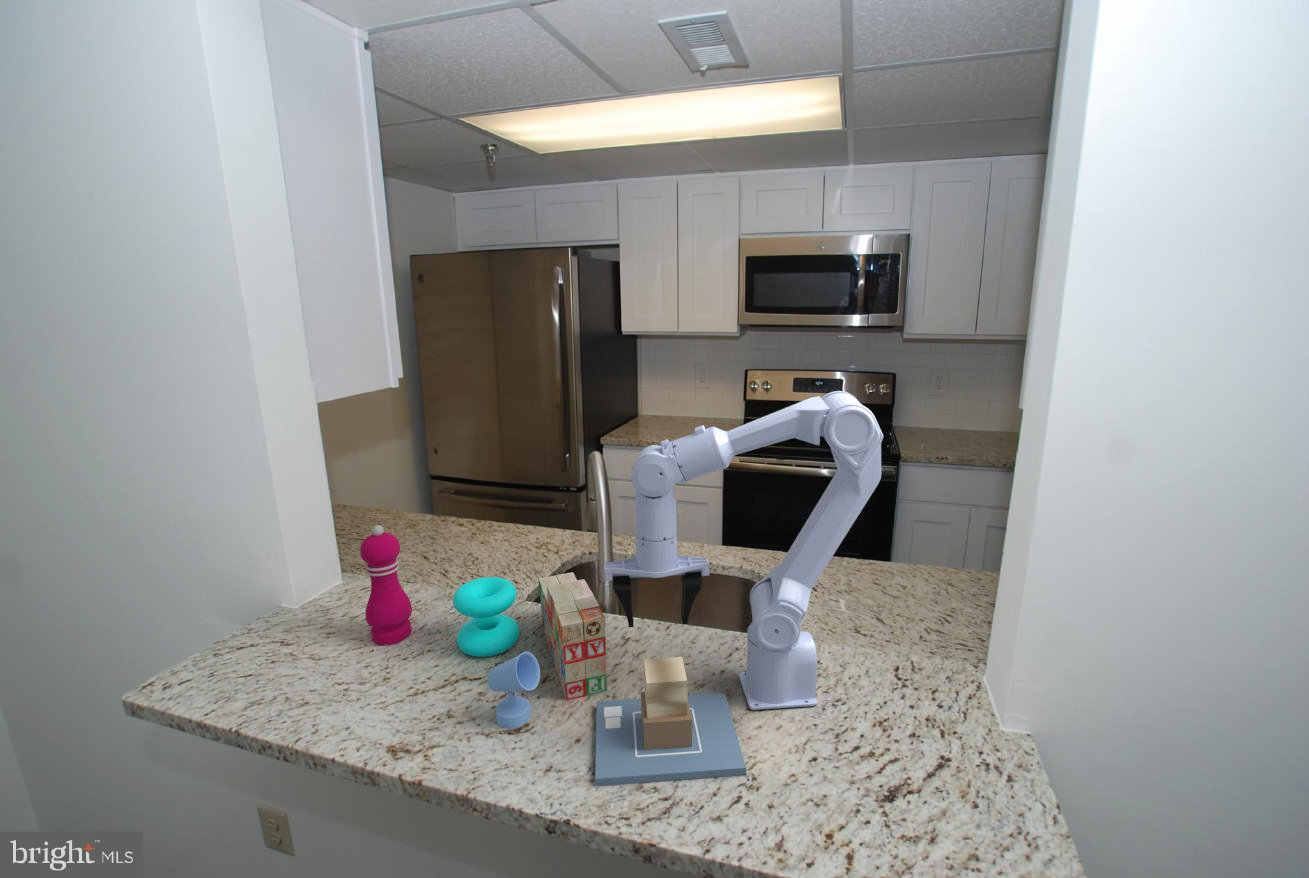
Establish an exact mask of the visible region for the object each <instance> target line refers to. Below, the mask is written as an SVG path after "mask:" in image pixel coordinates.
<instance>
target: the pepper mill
mask: <svg viewBox="0 0 1309 878" xmlns="http://www.w3.org/2000/svg"><path fill="white" fill-rule="evenodd" d="M384 531H385V529H384V527H383V526H382V525H379V524H376V525H374V526H373V527H372V528H371V533H372V534H371V535H368V536H367V537H365V539H364V540H363V541H362V542H361V545H360V549H359V554H360V558H361V559H362V560H363V561H364V563H365V564H366V565H365V569H366V574H367V575H368V576H369V577H370V585H371V588H370V594H369V597H368V601H367V603H366V607H365V613H364V615H365V621H366V623H367V625H368V626H370V627H371V630H370V633H371V634H370V635H371V641H372V642H373V643H374V644H375V645H378V646H390V645H396V644H399V643H401V642H403V641H404V640H406V639H408V638H409V637H410V635H411V634H412V625H411V624H412V623H411V622H412V621H411V620H410V618H411V615H412V612H413V607H412V602H411V599H410V598H409V596H408V594H407V593H406V592H405V590H404V589H403V587H402V586H401V583H400V581H399V577H398V570H399V568H400V564H399V559H398V556H399V554H400V552H401V545H400V541H399V540H398V538H397V537H396V536H395V535H394V534H393V533H390V532H384Z"/></svg>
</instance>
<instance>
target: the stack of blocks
mask: <svg viewBox="0 0 1309 878" xmlns="http://www.w3.org/2000/svg"><path fill="white" fill-rule="evenodd" d="M537 580H538V593H539V597H540V598H539V599H540V610H541V611H540V612H541V621H542V627H543V631H544V634H545V638H546V641H547V644H548V648H549V651H550V654H551V657H552V659H553V662H554V665H555V668H556V671H557V674H558V679H559V682H560V686H561V690H562V692H563V693H562V694H563V695H564V699H565V700H564V701H570V700H575V699H579V698H584V697H587V696H590V695H595V694H600V693H605V692H607V691H608V673H607V657H606V655H607V641H606V640H607V639H606V637H607V636H606V617H605V614H604V613H603V611H602V609H601V608H600V604H599V602H598V601H597V599H596V597H595V595H594V593H593V592H592V590H591V588H590V586H589V585H588V583H587V581H586V580H585V579H583V578H582V579H579V580H578V579H577V577H576V575H575V573H574V572H572V571H571V572H567V573H559V574H556V575H549V576H546V577H545V576H544V577H540V578H538V579H537Z"/></svg>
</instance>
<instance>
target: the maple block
mask: <svg viewBox="0 0 1309 878" xmlns="http://www.w3.org/2000/svg"><path fill="white" fill-rule="evenodd" d="M643 670H644V671H643V672H644V674H643V675H644V676H643V677H644V679H643V680H644V692H645V700H646V710H647V719H648V718H662V717H676V716H687V695H688V678H687V674H686V670H685V664H684V660H683V657H682V656H678V657H677V656H676V657H675V656H674V657H673V656H672V657H660V658H645V659H643Z"/></svg>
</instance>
